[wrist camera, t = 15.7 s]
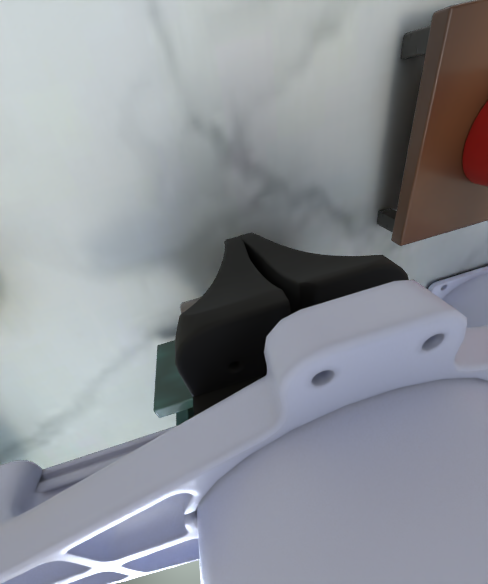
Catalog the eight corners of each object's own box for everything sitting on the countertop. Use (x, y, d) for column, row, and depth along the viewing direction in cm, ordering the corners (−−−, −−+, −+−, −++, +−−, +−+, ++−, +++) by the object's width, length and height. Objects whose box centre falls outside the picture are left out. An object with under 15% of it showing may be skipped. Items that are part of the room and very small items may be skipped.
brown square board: (589, -19, 11) (681, -48, 9) (500, 192, 16) (545, 203, 14) (397, 25, 10) (451, 5, 8) (371, 229, 16) (400, 246, 14)
